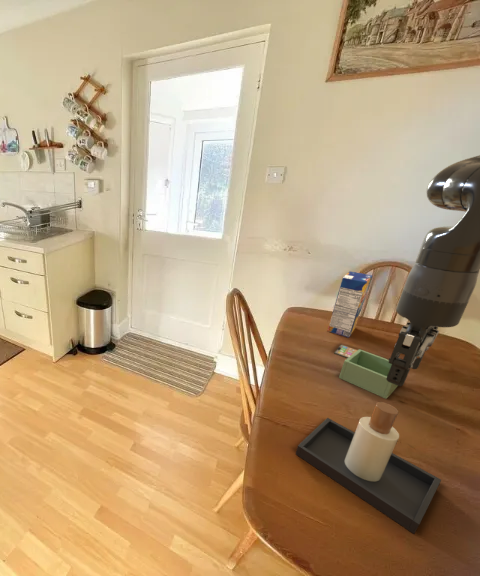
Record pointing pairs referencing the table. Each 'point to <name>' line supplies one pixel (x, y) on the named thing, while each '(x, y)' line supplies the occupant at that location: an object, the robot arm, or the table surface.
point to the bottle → (373, 443)
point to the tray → (381, 494)
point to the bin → (368, 373)
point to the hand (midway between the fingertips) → (402, 374)
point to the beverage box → (349, 303)
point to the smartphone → (345, 351)
